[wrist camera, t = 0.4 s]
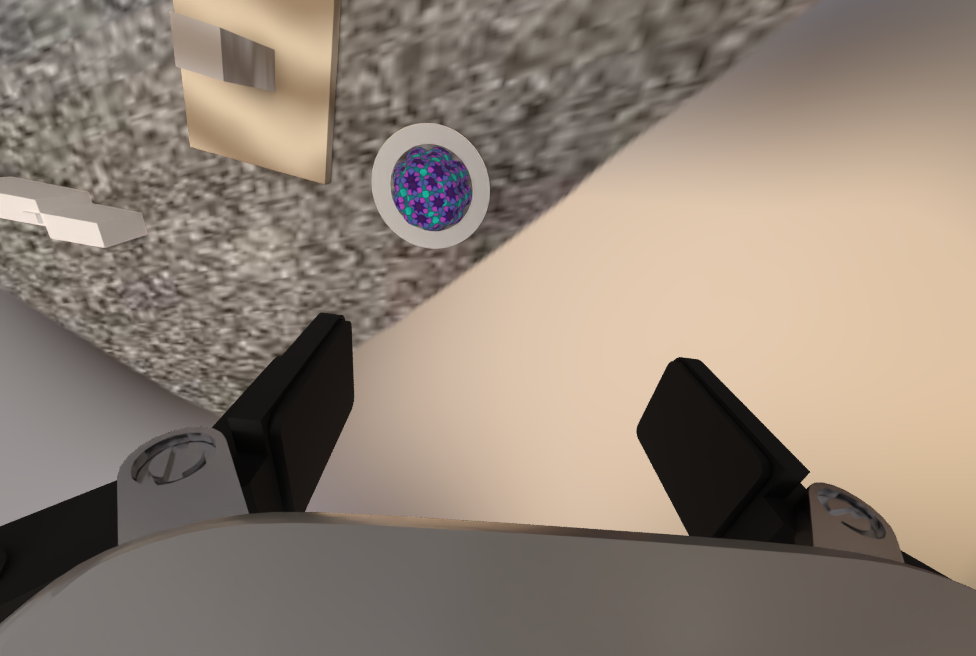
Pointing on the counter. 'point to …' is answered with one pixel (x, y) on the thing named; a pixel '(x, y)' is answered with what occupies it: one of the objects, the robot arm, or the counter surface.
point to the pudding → (430, 186)
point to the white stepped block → (68, 213)
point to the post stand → (260, 80)
